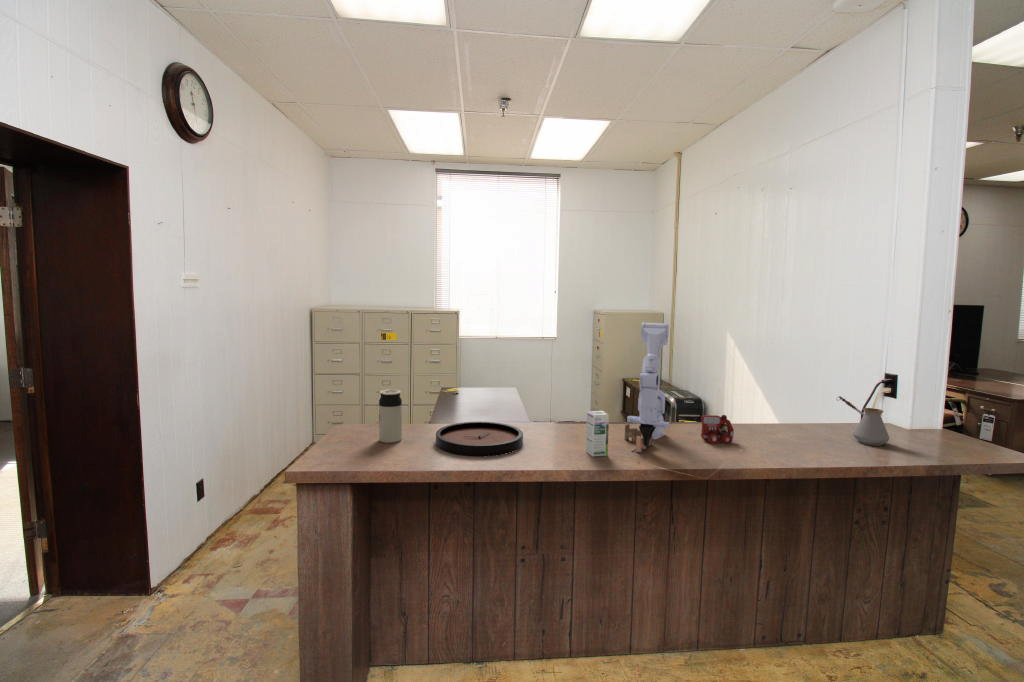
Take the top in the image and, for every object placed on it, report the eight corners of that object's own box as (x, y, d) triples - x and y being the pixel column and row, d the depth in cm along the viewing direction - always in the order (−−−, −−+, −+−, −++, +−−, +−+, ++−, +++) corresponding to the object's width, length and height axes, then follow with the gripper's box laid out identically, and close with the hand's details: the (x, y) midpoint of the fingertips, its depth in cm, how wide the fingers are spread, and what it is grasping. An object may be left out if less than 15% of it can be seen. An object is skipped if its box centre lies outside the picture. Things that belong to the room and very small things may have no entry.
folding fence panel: (646, 444, 184) (646, 430, 183) (650, 445, 183) (650, 431, 183) (635, 451, 176) (636, 437, 175) (639, 452, 175) (640, 437, 174)
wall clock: (462, 451, 163) (421, 428, 188) (462, 463, 163) (421, 439, 189) (540, 437, 180) (493, 417, 206) (540, 448, 181) (493, 427, 206)
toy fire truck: (737, 445, 188) (739, 417, 187) (704, 445, 188) (706, 417, 186) (728, 439, 195) (729, 413, 194) (696, 439, 194) (698, 412, 193)
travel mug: (404, 437, 189) (404, 389, 187) (397, 443, 181) (397, 394, 179) (383, 436, 190) (383, 388, 188) (375, 442, 182) (375, 393, 180)
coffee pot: (896, 446, 191) (900, 407, 189) (872, 448, 188) (875, 408, 186) (846, 431, 211) (849, 395, 210) (823, 432, 208) (826, 396, 207)
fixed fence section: (625, 439, 191) (626, 423, 191) (652, 444, 185) (653, 428, 184) (623, 440, 190) (624, 424, 190) (650, 445, 184) (651, 429, 183)
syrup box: (592, 457, 171) (593, 414, 170) (585, 451, 177) (586, 410, 175) (607, 456, 172) (609, 413, 171) (600, 450, 178) (602, 409, 177)
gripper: (623, 405, 177) (622, 443, 178) (664, 412, 168) (662, 452, 169) (632, 402, 182) (631, 439, 184) (672, 408, 174) (670, 447, 175)
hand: (646, 445), depth 177 cm, fingers closed
